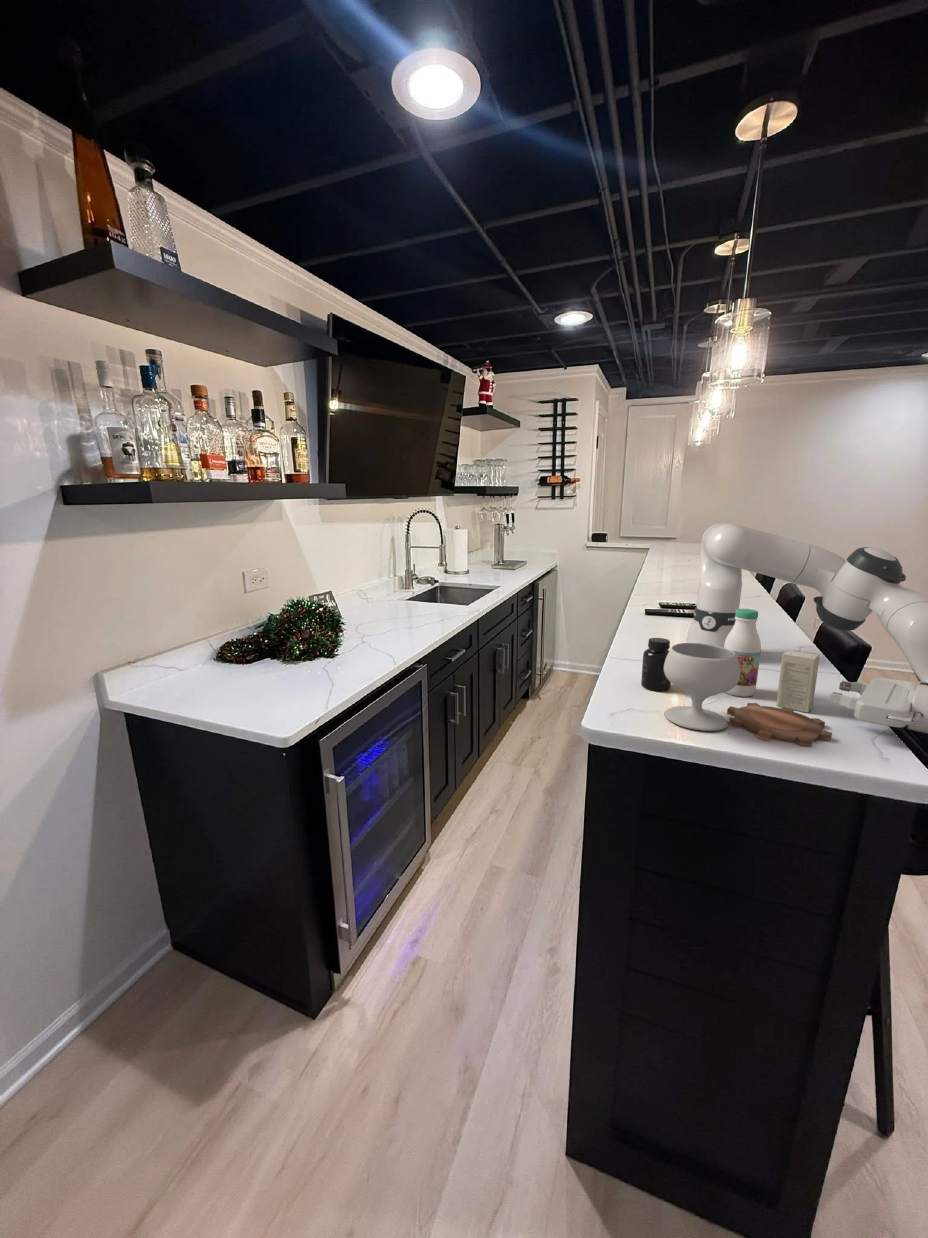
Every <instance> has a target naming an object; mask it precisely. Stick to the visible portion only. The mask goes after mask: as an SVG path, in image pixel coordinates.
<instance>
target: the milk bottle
mask: <svg viewBox="0 0 928 1238" xmlns="http://www.w3.org/2000/svg"><path fill="white" fill-rule="evenodd" d="M758 618H759V611H758V610H756V609H750V608H739V609H737V610H736V612H735V619H736V621H735V624H734V626H733V628H732V630H731V631H730V633H729V634H728V636H727V638H726V640H725V644H724V648H726V649H729V650H731V651H733V652H734V653H735V654H736V656H737V658H738V661H739V667H740V679H739V682H738V684H737V685H736V686H735V687H734V688H733V689H731V690H729V691H727V692H724V693H723V694H727V695H731V696H733V697H742V698H743V697H744V698H747V697H753V696H754V695H755V694H756V688H757V681H758V675H759V668H760V660H761V651H762V647H761V646H762V644H761V638H760V636H759V633H758V629H757V622H758Z"/></svg>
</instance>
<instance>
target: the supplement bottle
mask: <svg viewBox="0 0 928 1238" xmlns="http://www.w3.org/2000/svg"><path fill="white" fill-rule="evenodd" d="M670 644H671V641H670V640H669V639H668V638H663V637H650V638H648V644H647V647H648V648H647V649H645V650H644V651H643V654H642V664H641V665H642V668H641V682H640V683H641V687H643V688H644V689H645V690H649V691H653V692H666V691H668V690H670V689H671V686H672V683H671V682H670V681H669V680H668V679H667V677H666V676H665V672H664V663H665V660H666V657H667V655H668V653H669V651H670V649H671V646H670Z"/></svg>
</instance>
